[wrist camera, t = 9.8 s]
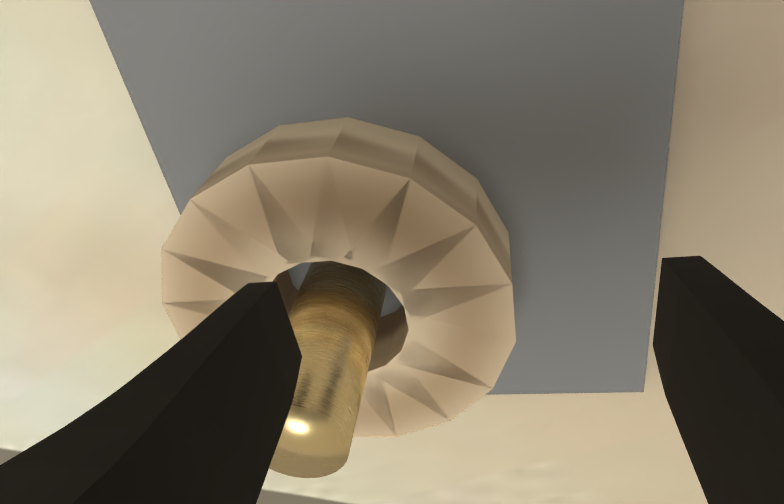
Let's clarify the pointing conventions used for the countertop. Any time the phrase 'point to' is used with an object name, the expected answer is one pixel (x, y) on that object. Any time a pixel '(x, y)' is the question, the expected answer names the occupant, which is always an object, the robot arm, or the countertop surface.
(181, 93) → the mat
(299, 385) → the peg
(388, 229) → the beige grooved ring
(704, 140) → the countertop surface
